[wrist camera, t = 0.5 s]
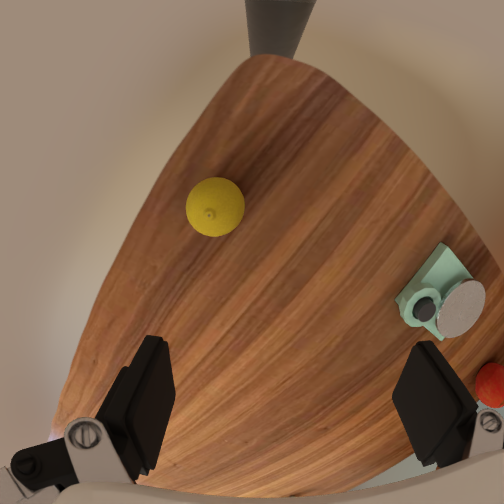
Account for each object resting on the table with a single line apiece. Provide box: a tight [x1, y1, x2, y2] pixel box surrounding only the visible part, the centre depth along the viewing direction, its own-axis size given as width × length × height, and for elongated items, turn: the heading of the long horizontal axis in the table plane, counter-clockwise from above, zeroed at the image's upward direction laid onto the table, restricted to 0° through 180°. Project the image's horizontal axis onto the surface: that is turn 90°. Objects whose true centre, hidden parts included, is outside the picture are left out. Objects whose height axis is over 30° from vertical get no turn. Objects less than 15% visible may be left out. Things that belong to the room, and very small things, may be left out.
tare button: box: [413, 297, 436, 322], centre depth 31 cm, size 3×3×2 cm
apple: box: [476, 363, 504, 408], centre depth 36 cm, size 8×8×11 cm
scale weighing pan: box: [435, 278, 485, 338], centre depth 31 cm, size 9×9×1 cm
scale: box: [394, 242, 474, 341], centre depth 33 cm, size 13×11×4 cm
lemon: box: [186, 177, 245, 236], centre depth 27 cm, size 6×6×8 cm
